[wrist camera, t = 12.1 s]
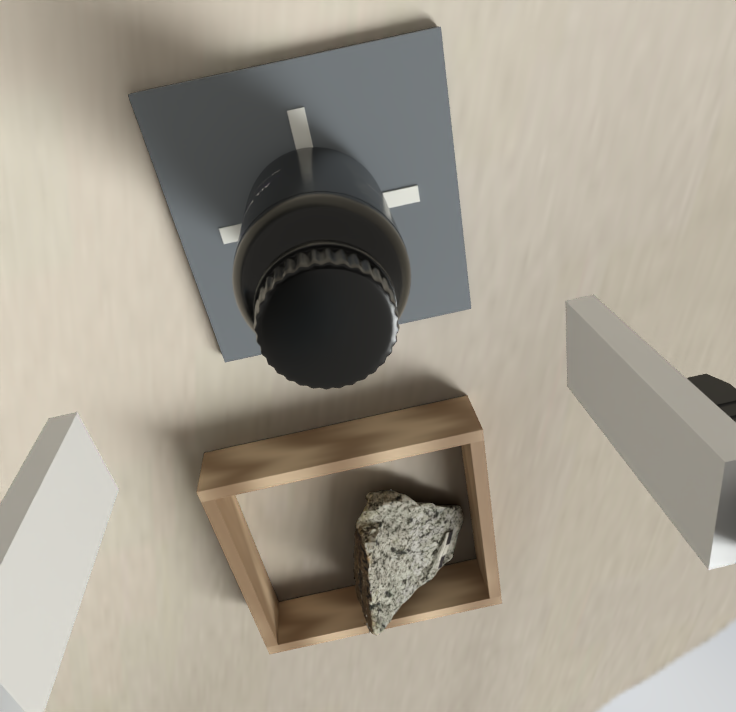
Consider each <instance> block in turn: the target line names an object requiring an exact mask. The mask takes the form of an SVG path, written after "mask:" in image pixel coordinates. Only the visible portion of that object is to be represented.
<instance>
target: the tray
mask: <svg viewBox="0 0 736 712" xmlns="http://www.w3.org/2000/svg"><path fill="white" fill-rule="evenodd" d="M456 446H461V449H462V456H463V464H464V471H465V478H466V486H467V493H468V500H469V508H470V515H471V522H472V530H473V537H474V544H475V552H476V559H473V560H468V561H464V562H459V563H455V564H450V565H446V566H442V567H441V568H440V569H439V570H438V572H437V573H436V575H435V576H434V577H433V579H432V580H430V581H429V582H427V583H425V584H423V585H422V586H420V587H419V588H418V589H417V590H416V591H415V592H414V593H413V595H412V596H411V597H410V598H409V599H408V600H407V601H406V602H405V603H403V604H402V605H401V607H400V608H399V610H398V611H397V612H396V614H395V615H393V617H392V619H391V622H390V623H389V624H388V625H387V626H386V628H385V629H387V628H392V627H396V626H401V625H406V624H410V623H415V622H419V621H424V620H428V619H433V618H437V617H442V616H447V615H451V614H456V613H460V612H465V611H469V610H474V609H478V608H483V607H488V606H492V605H497V604H501V603H502V599H501V590H500V581H499V572H498V563H497V554H496V545H495V536H494V527H493V517H492V508H491V499H490V490H489V481H488V472H487V463H486V454H485V445H484V436H483V429H482V427H481V424H480V422H479V420H478V418H477V416H476V413H475V411H474V409H473V407H472V405H471V402H470V400H469V398H468V396H462V397H458V398H453V399H448V400H444V401H439V402H435V403H430V404H426V405H421V406H416V407H412V408H407V409H403V410H398V411H394V412H389V413H384V414H380V415H375V416H371V417H366V418H362V419H357V420H352V421H348V422H343V423H339V424H334V425H330V426H325V427H320V428H316V429H311V430H307V431H302V432H298V433H293V434H288V435H284V436H279V437H275V438H270V439H266V440H261V441H256V442H252V443H247V444H243V445H238V446H234V447H229V448H224V449H220V450H215V451H211V452H206V453H204V456H203V461H202V466H201V472H200V477H199V482H198V487H197V494H198V497H199V499H200V501H201V503H202V505H203V508H204V510H205V512H206V514H207V517H208V519H209V521H210V523H211V525H212V528H213V530H214V532H215V534H216V537H217V539H218V541H219V543H220V545H221V548H222V550H223V552H224V554H225V556H226V559H227V561H228V563H229V565H230V568H231V570H232V572H233V574H234V576H235V579H236V581H237V583H238V585H239V587H240V590H241V592H242V594H243V596H244V599H245V601H246V603H247V605H248V607H249V610H250V612H251V614H252V616H253V618H254V621H255V623H256V625H257V627H258V630H259V632H260V634H261V636H262V638H263V641H264V643H265V645H266V647H267V649H268V652H269V654H274V653H278V652H283V651H287V650H292V649H296V648H301V647H305V646H310V645H315V644H319V643H324V642H328V641H333V640H337V639H342V638H346V637H351V636H356V635H360V634H365V633H369V629H368V627H367V625H365V624H366V623H367V622H366V620H365V617H364V615H363V614H364V613H363V612H362V607H361V605H360V603H359V601H358V599H357V594H356V588H355V587H356V585H354V586H350V587H345V588H341V589H336V590H332V591H327V592H322V593H318V594H313V595H309V596H304V597H300V598H295V599H291V600H286V601H281V602H279V601H278V599H277V597H276V594H275V592H274V589H273V587H272V584H271V582H270V579H269V577H268V575H267V572H266V570H265V567H264V565H263V562H262V560H261V557H260V555H259V552H258V550H257V548H256V545H255V543H254V540H253V538H252V535H251V533H250V530H249V528H248V525H247V523H246V521H245V518H244V516H243V513H242V511H241V508H240V506H239V503H238V501H237V498H236V496H235V495H237V494H242V493H246V492H251V491H255V490H260V489H265V488H269V487H274V486H278V485H283V484H287V483H292V482H297V481H301V480H306V479H310V478H315V477H319V476H324V475H329V474H333V473H338V472H342V471H347V470H351V469H356V468H361V467H365V466H370V465H374V464H379V463H383V462H388V461H392V460H397V459H402V458H406V457H411V456H415V455H420V454H424V453H429V452H434V451H438V450H443V449H447V448H452V447H456ZM361 620H362V621H361ZM364 623H365V624H364Z"/></svg>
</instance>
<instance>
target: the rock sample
mask: <svg viewBox="0 0 736 712" xmlns="http://www.w3.org/2000/svg"><path fill="white" fill-rule="evenodd" d="M390 490H391V489H390ZM366 499H367V504H366V507H365V508H364V510H363V512H362V514H361V515H360V517H359V518H358V520H357V522H356V525H355V528H356V531H355V546H354V579H356V580H355V582H356V587H355V588H356V594H357V599H358V601H359V603H360V605H361V607H362V612H363V613H364V614H363V615H364V617H365V620H366V622H367V623H366V624H365V623H364V624H365V625H367V627H368V629H369V633H370V632H371V633H372V634H375V635H379V634H380V633H382V632H383V631H384V630H385V628H386V626H387V625H388V624H389V623H390V622H391V619H392V617H393V615H395V614H396V612H397V611H398V610H399V608H400V607H401V605H402V604H403V603H405V602H406V601H407V600H408V599H409V598H410V597H411V596H412V595H413V593H414V592H415V591H416V590H417V589H418V588H419V587H420V586H422V585H423V584H425V583H427V582H429V581H430V580H432V579H433V577H434V576H435V575H436V573H437V572H438V570H439V569H440V568H441V567H442V566H443V565H444V564H445V563H446V562H448V561H450V560H451V559H452V558H453V552H454V549H455V546H456V541H457V535H458V532H459V531H460V529H461V527H462V526H461V524H462V523H463V520H464V516H463V514H462V510H461V507H460V506H456V505H454V506H452V505H434V504H433V503H417V502H415V501H413V500H412V499H411V498H410V497H408V496H406V495H404V494H401V493H398V492H396V491H384V490H382V491H378V492H369V493H368V494H367V495H366ZM361 621H362V620H361Z"/></svg>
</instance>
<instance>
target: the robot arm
mask: <svg viewBox="0 0 736 712" xmlns="http://www.w3.org/2000/svg"><path fill="white" fill-rule="evenodd" d="M566 350H567V387H568V388H569V389H570V390H571V392H572V393H573V394H574V396H575V397H576V398H577V400H578V401H579V402H580V403H581V405H582V406H583V407H584V409H585V410H586V411H587V413H588V414H589V415H590V416H591V418H592V419H593V420H594V422H595V423H596V424H597V426H598V427H599V428H600V429H601V431H602V432H603V433H604V435H605V436H606V437H607V439H608V440H609V441H610V442H611V444H612V445H613V446H614V448H615V449H616V450H617V452H618V453H619V454H620V455H621V457H622V458H623V459H624V461H625V462H626V463H627V465H628V466H629V467H630V468H631V470H632V471H633V472H634V474H635V475H636V476H637V478H638V479H639V480H640V481H641V483H642V484H643V485H644V487H645V488H646V489H647V491H648V492H649V493H650V494H651V496H652V497H653V498H654V500H655V501H656V502H657V504H658V505H659V506H660V507H661V509H662V510H663V511H664V513H665V514H666V515H667V517H668V518H669V519H670V520H671V522H672V523H673V524H674V526H675V527H676V528H677V530H678V531H679V532H680V533H681V535H682V536H683V537H684V539H685V540H686V541H687V543H688V544H689V545H690V546H691V548H692V549H693V550H694V552H695V553H696V554H697V556H698V557H699V558H700V559H701V561H702V562H703V563H704V565H705V566H706V567H707V569H708V570H710V569H714V568H719V567H723V566H727V565H731V564H736V389H735V388H734V387H733V386H732V385H731V384H729V383H727V382H724V381H722V380H720V379H717V378H715V377H713V376H710V375H708V374H702V375H698V376H694V377H689V378H686V377H685V376H684V375H682V374H681V373H680V372H679V371H678V370H677V369H676V368H675V367H674V366H672V365H671V364H670V363H669V362H668V361H667V360H666V359H665V358H664V357H662V356H661V355H660V354H659V353H658V352H657V351H656V350H655V349H654V348H652V347H651V346H650V345H649V344H648V343H647V342H646V341H645V340H644V339H642V338H641V337H640V336H639V335H638V334H637V333H636V332H635V331H634V330H632V329H631V328H630V327H629V326H628V325H627V324H626V323H625V322H624V321H622V320H621V319H620V318H619V317H618V316H617V315H616V314H615V313H614V312H612V311H611V310H610V309H609V308H608V307H607V306H606V305H605V304H604V303H602V302H601V301H600V300H599V299H598V298H597V297H596V296H595V295H589V296H585V297H581V298H576V299H572V300H567V301H566ZM118 491H119V488H118V486H117V485H116V483H115V481H114V479H113V477H112V475H111V473H110V471H109V470H108V468H107V466H106V464H105V462H104V460H103V458H102V457H101V455H100V453H99V451H98V449H97V447H96V445H95V444H94V442H93V440H92V438H91V436H90V434H89V432H88V430H87V429H86V427H85V425H84V423H83V421H82V419H81V417H80V416H79V414H78V412H75V413H71V414H66V415H62V416H57V417H53V418H49V419H48V421H47V422H46V424H45V426H44V428H43V429H42V431H41V433H40V435H39V436H38V438H37V440H36V442H35V444H34V445H33V447H32V449H31V451H30V452H29V454H28V456H27V458H26V459H25V461H24V463H23V465H22V466H21V468H20V470H19V472H18V474H17V475H16V477H15V479H14V481H13V482H12V484H11V486H10V488H9V489H8V491H7V493H6V495H5V496H4V498H3V500H2V502H1V504H0V712H44V711H45V708H46V705H47V702H48V699H49V696H50V693H51V690H52V688H53V685H54V682H55V679H56V676H57V673H58V670H59V667H60V664H61V661H62V658H63V655H64V652H65V649H66V646H67V643H68V640H69V637H70V634H71V631H72V628H73V625H74V622H75V619H76V616H77V613H78V610H79V607H80V604H81V601H82V598H83V595H84V592H85V589H86V586H87V583H88V580H89V577H90V574H91V571H92V568H93V565H94V562H95V559H96V556H97V553H98V550H99V547H100V544H101V541H102V538H103V535H104V532H105V529H106V526H107V523H108V520H109V517H110V515H111V512H112V509H113V506H114V503H115V500H116V497H117V494H118Z"/></svg>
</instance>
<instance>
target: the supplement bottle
mask: <svg viewBox="0 0 736 712" xmlns="http://www.w3.org/2000/svg"><path fill="white" fill-rule="evenodd" d="M232 284H233V292H234V296H235V300H236V303H237V306H238V308H239V310H240V313H241V315H242V317H243V318H244V320H245V322H246V323H247V324H248V326H249V327H250V328H251V330H252V331H253V332H254V333H255V334H256V342H257V343H258V345H259V346H260V350H261V354H262V355H263V356H265V357H266V358H267V362H268V364H269V365H271V366H272V367H274V368H275V370H276V372H277V373H278V374H281V375H284V376H285V377H286V379H287V380H289V381H294V382H296V383H297V384H299V385H302V386H304V385H305V386H309V387H311V388H323V389H330V388H341V387H343V386H345V385H353V384H354V383H355V382H357V381H360V380H364V379H365V378H366V377H367V376H368V375H369V374H372V373H374V372H375V371H376V370H377V368H378V367H379V366H381V365H382V364H384V363H385V360H386V357H387V356H389V355H390V354H391V353H392V347H393V346H394V344H395V343H396V342H397V336H396V334H397V333H398V331H399V324H398V320H399V319H400V317H401V315H402V313H403V311H404V309H405V307H406V304H407V301H408V297H409V293H410V287H411V267H410V261H409V257H408V253H407V249H406V247H405V244H404V242H403V239H402V237H401V234H400V232H399V230H398V228H397V225H396V223H395V221H394V218H393V216H392V214H391V212H390V209H389V207H388V205H387V202H386V200H385V198H384V196H383V193H382V191H381V190H380V188H379V186H378V184H377V182H376V180H375V179H374V177H373V176H372V175H371V174H370V172H369V171H368V170H367V169H366V168H365V167H364V166H363V165H362V164H361V163H359V162H358V161H357V160H355V159H354V158H352V157H351V156H349V155H347V154H345V153H342V152H340V151H337V150H334V149H329V148H323V147H308V148H301V149H297V150H294V151H291V152H288V153H286V154H284V155H282V156H280V157H278V158H277V159H275V160H274V161H273V162H271V163H270V164H269V165H268V166H267V167H266V168H265V169H264V170H263V171H262V172H261V173H260V175H259V176H258V178H257V179H256V181H255V183H254V184H253V186H252V189H251V191H250V194H249V197H248V200H247V203H246V208H245V212H244V217H243V221H242V225H241V230H240V234H239V239H238V243H237V247H236V252H235V257H234V262H233V272H232Z"/></svg>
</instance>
